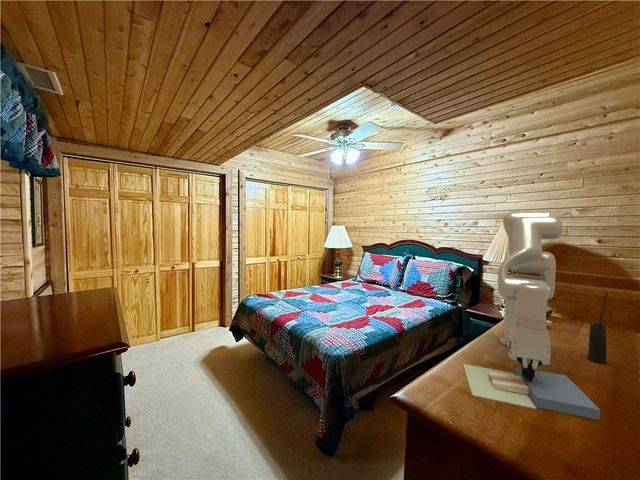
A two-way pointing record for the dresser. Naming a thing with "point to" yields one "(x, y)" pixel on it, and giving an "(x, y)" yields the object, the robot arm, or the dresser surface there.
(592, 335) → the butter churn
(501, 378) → the birch block
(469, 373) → the mat
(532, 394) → the slate blue tile
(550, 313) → the dark brown angled stand
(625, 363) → the dresser surface
